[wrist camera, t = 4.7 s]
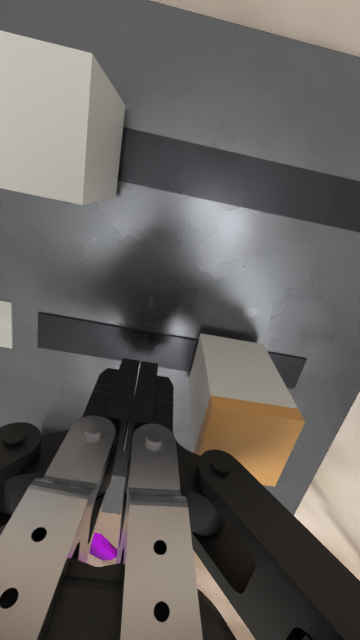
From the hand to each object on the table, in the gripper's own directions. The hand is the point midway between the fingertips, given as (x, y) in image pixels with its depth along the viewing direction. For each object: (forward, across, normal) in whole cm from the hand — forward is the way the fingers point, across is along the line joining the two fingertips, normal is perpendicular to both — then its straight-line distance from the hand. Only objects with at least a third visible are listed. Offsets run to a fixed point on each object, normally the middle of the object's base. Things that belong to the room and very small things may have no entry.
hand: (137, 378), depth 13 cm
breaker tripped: (+2, -4, 0) cm, 4 cm away
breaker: (+2, +3, -8) cm, 9 cm away
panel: (+4, -2, 0) cm, 5 cm away
